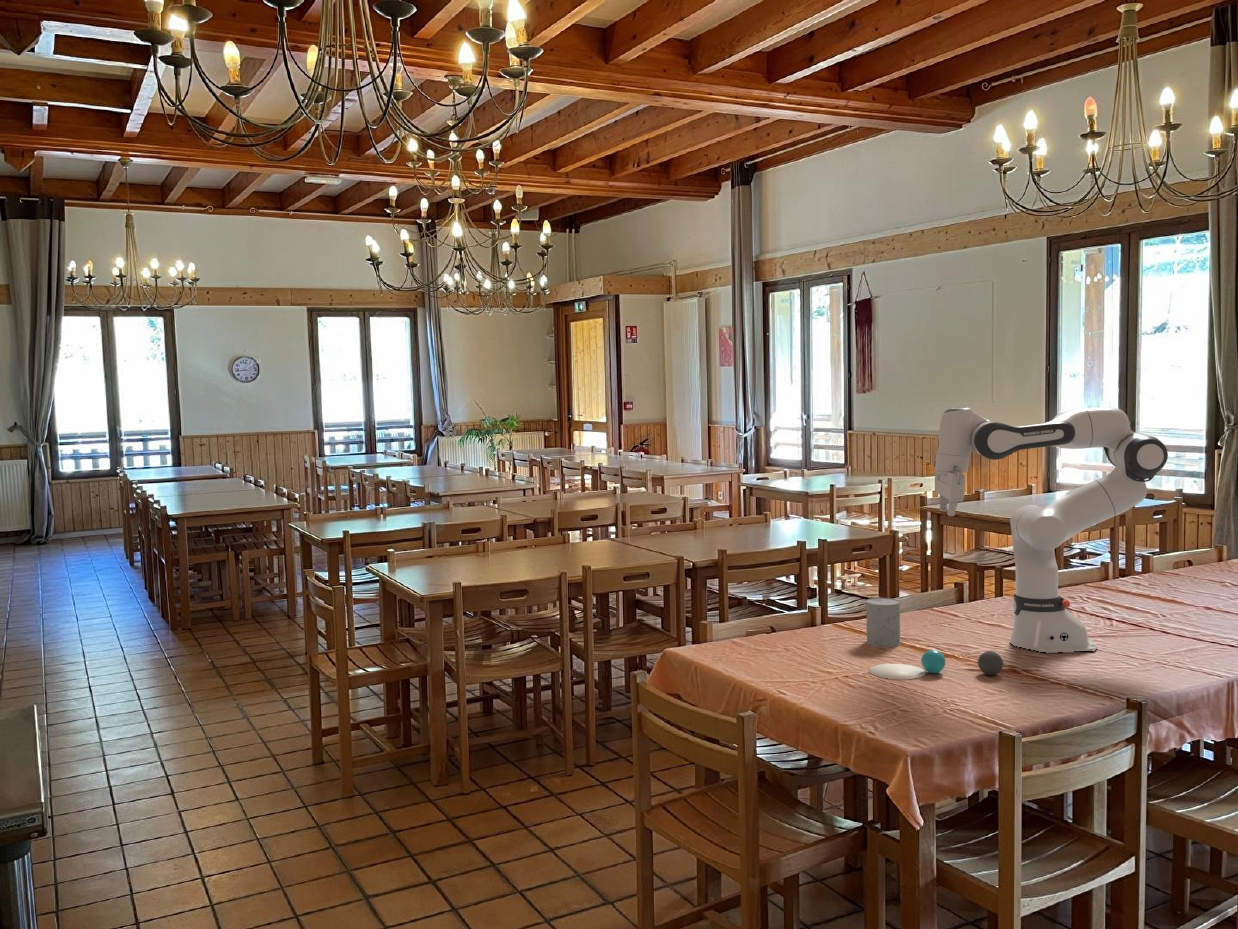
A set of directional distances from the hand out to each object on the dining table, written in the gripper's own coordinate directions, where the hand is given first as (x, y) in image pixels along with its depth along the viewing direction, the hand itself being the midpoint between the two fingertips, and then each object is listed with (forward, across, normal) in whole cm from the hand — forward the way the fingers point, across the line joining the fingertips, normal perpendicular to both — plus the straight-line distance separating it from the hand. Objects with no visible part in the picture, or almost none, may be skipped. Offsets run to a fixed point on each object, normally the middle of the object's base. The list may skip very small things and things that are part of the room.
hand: (946, 513), depth 282 cm
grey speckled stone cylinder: (+40, +2, +13) cm, 42 cm away
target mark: (+39, -27, +15) cm, 50 cm away
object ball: (+35, -28, +6) cm, 46 cm away
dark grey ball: (+34, -30, -8) cm, 46 cm away
